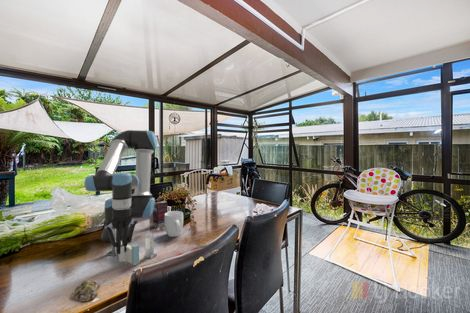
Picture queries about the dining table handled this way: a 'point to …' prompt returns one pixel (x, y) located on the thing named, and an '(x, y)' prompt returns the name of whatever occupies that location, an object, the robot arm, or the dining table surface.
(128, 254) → the gate
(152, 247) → the latch post
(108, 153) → the robot arm
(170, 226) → the mug
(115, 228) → the hinge post
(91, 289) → the mineral rock
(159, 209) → the supplement box
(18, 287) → the dining table surface
